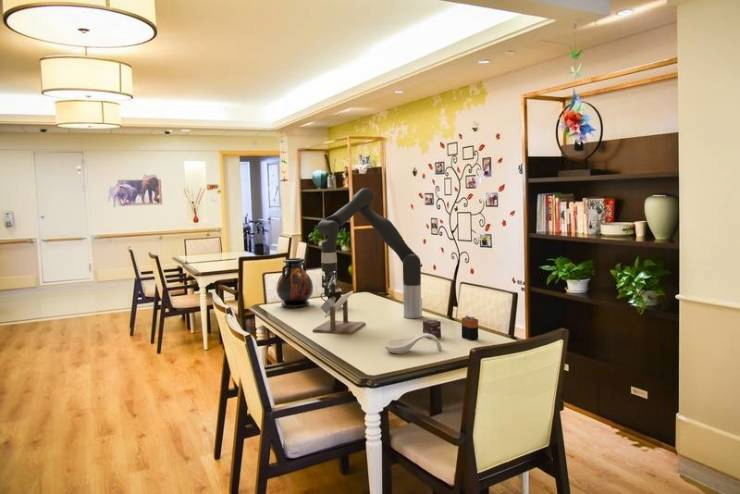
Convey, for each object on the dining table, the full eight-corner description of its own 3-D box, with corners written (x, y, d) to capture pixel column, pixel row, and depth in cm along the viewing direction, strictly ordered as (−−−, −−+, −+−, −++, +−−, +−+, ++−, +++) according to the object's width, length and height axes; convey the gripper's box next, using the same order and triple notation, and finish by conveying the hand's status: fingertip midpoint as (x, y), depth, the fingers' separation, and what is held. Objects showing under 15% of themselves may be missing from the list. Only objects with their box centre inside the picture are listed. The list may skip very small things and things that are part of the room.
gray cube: (337, 305, 270) (330, 298, 271) (333, 307, 266) (326, 300, 267) (331, 312, 272) (324, 305, 273) (327, 314, 267) (320, 307, 268)
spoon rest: (386, 357, 220) (385, 339, 219) (382, 348, 232) (382, 332, 231) (443, 354, 222) (443, 336, 222) (437, 346, 234) (437, 329, 233)
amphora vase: (294, 301, 340) (293, 256, 338) (321, 304, 328) (319, 258, 325) (269, 307, 323) (267, 260, 320) (296, 311, 310) (294, 262, 308)
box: (429, 339, 244) (429, 323, 244) (422, 336, 250) (422, 320, 249) (441, 337, 247) (441, 321, 247) (433, 334, 253) (433, 319, 252)
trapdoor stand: (365, 324, 275) (364, 299, 274) (351, 334, 256) (351, 307, 255) (328, 322, 281) (327, 298, 280) (312, 332, 262) (311, 306, 261)
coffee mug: (344, 307, 319) (344, 290, 318) (336, 309, 312) (335, 292, 311) (328, 305, 326) (328, 288, 325) (320, 307, 318) (319, 290, 317)
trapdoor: (353, 292, 272) (351, 290, 272) (343, 297, 259) (341, 295, 259) (336, 311, 276) (334, 310, 276) (325, 317, 263) (323, 316, 263)
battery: (471, 341, 240) (471, 318, 239) (461, 337, 246) (461, 315, 245) (478, 339, 242) (478, 317, 242) (468, 336, 248) (468, 314, 247)
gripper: (330, 263, 259) (331, 297, 260) (341, 259, 272) (342, 292, 274) (316, 263, 261) (317, 296, 263) (327, 259, 275) (328, 291, 276)
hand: (330, 294), depth 268 cm, fingers open, 8 cm apart
